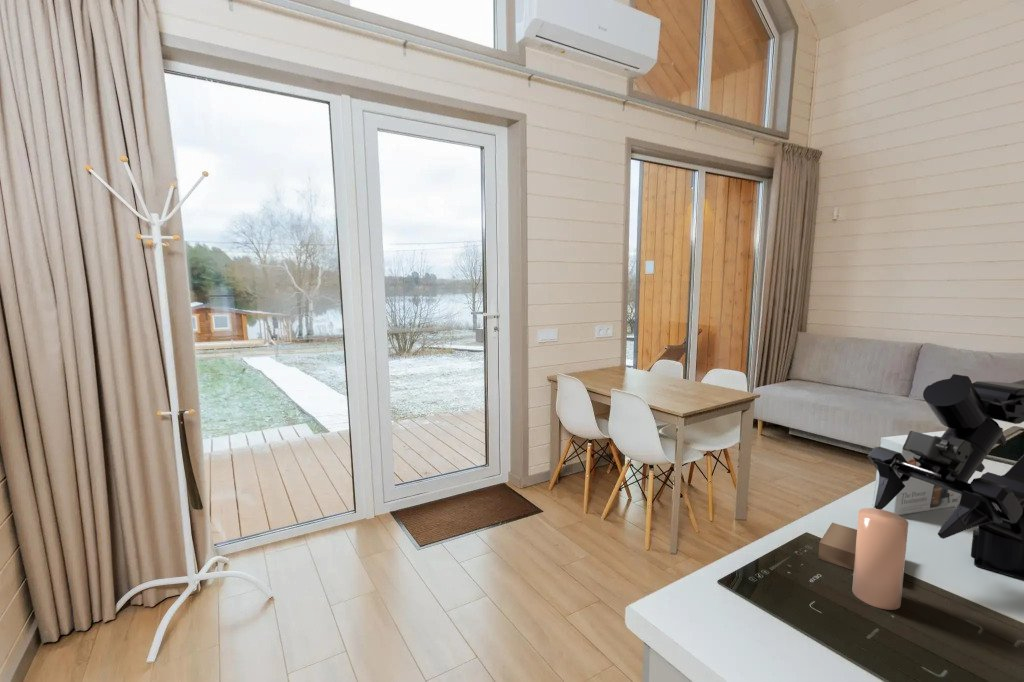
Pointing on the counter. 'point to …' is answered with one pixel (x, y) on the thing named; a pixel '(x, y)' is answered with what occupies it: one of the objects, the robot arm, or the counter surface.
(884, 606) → the canister
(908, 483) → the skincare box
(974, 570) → the counter surface
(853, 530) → the podium
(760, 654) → the counter surface
